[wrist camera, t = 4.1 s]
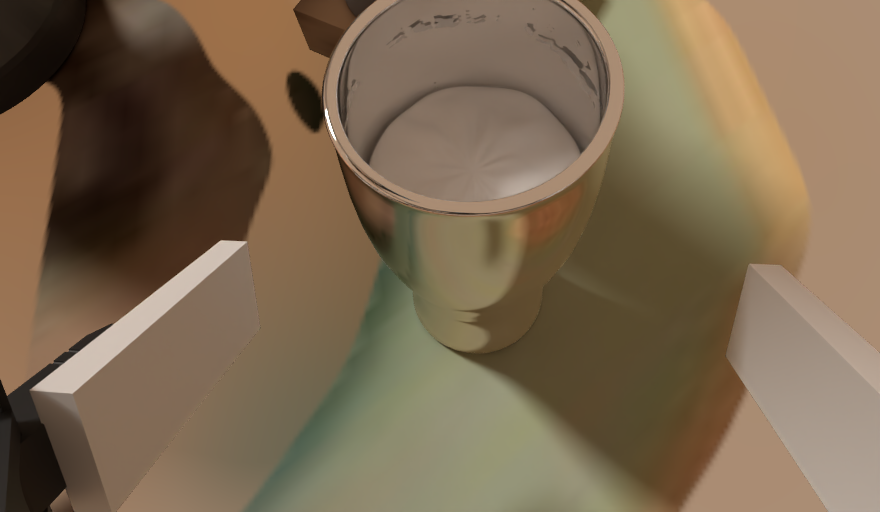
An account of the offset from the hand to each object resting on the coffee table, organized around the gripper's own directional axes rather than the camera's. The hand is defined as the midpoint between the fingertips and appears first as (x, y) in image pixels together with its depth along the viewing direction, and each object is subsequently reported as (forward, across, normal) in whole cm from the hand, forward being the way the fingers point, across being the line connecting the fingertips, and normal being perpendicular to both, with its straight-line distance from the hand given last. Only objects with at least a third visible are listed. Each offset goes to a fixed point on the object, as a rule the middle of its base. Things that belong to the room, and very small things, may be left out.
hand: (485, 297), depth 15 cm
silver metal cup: (+10, 0, -5) cm, 11 cm away
